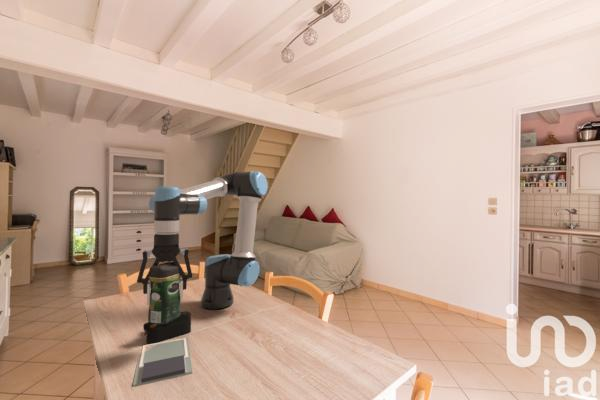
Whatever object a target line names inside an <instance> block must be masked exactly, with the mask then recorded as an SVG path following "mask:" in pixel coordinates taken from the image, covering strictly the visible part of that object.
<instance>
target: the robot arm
mask: <svg viewBox="0 0 600 400" xmlns="http://www.w3.org/2000/svg"><path fill="white" fill-rule="evenodd" d="M268 186H269V185H268V181H267V178H266V176H265V175H264V173H262V172H261V171H254V170H251V171H234V172H230V173H227V174H224V175H221V176H217V177H214V178H213V179H212V180H210V181H206V182H204V183H200V184H196V185H192V186H188V187H184V188H182V189H180V188H179V186H178V187H176V186H158V187H156V188H155V191H154V194H153V195H152V196H151V197H150V198H149V202H148V205H149V209H150V210H151V212H153V213H154V217H153V218H154V220H153V221H154V222H153V232H154V233H155V234H154V235H153V248H152V249H151V250H143V251H142V262H141V265H140V268H139V272H138V275H137V279H136V282H137V283H138V284H139V283H140V284H142V285H143V289H142V290H143V291H142V292H143V295H146V305H147V306H148V305H150V293H151V283H150V280H149V273H150V271H149V270H148V272H147V274H146V276H145V277H144V274H145V273H144V272H145V270H146V265H147V263H148V260H149V259H148V258H150V257H151V255H153V257H155V260H154V262H153V263H152V265H151V266H155V265H159V263H166V262H173V263H174V264H175V266H177V267H179V273H180V275H181V276H180V282H179V290H180V302H182V301H183V300H184V298H183V296H184V291H185V290H187V283H188V280H189V279H192V278H193V272H192V267H191V264H190V259H189V249H188V247H186V248H180V245H179V244H180V234H179V232H180V216H181V215H188V216H189V215H201V214H204V213H205V212H206V211H207V208H208V200H209V199H212V198H215V197H221V198H222V197H225V196H236V197H237V200H238V201H239V209H238V216H237V218H238V219H237V225H236V226H237V227H236V233H235V234H236V235H235V244H234V251H233V253H231V254H228V253H226V254H216V255H210V256H209V257H207V258H206V259H205V266H204V267H205V268H204V269H205V270H204V277H205V278H204V280H205V281H204V290H203V294H202V296H201V299H200V305H201V306H202V307H201V308H204V309H210V310H211V309H212V310H217V309H223V308H226V307H229V306H231V305H233V304H234V300H235V299H234V294H233V291H232V289H231V288H232V287H231V285H234V286H239V287H251V286H253V284H254V283H255V282H256V281H257V279H258V277H259V275H260V264H259V262H258V261H257V260H256V255H255V254H254V243H255V236H256V235H255V234H256V226H257V215H258V208H259V207H258V206H259V203H261V201H262V199H263V197H264V196H265V195H266V194H267V193H268ZM179 254H181V255H182V256H183V258H184V263H185V268H186V271H187V274H186V273H185V272H184V270H183V267H182V266H181V264H180V263H179V261H178V258H177V257H178V255H179Z"/></svg>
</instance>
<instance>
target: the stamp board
mask: <svg viewBox="0 0 600 400" xmlns="http://www.w3.org/2000/svg"><path fill="white" fill-rule="evenodd" d="M189 343H190V342H189V338H188V337H183V338H178V339H177V338H176V339H172V340H171V339H169V340H165V341H162V342H158V343H154V344H145V345H142V349H141V354H139V355H138V356H137V357H138V358H137V362H136V368H135V373H134V378H133V382H132V387H136V386H137V387H138V386H141V385H146V384H150V383H155V382H160V381H164V380H168V379H173V378H178V377H182V376H187V375H191V374H193V365H192V360H191V359H192V357H191V351H190V344H189ZM151 346H152V347H151ZM146 347H150V348H149V349H147V350H146ZM182 355H184V358H185V361H186V371H187V373H184V374H179V375H175V376H171V377H166V378H162V379H158V380H153V381H149V382H145V383H140V378H141V372H142V367H143V366H144V363H148V362H153V361H158V360H162V359H167V358H172V357H177V356H182Z"/></svg>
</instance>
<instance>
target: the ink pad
mask: <svg viewBox="0 0 600 400" xmlns="http://www.w3.org/2000/svg"><path fill="white" fill-rule="evenodd" d="M184 373H187V371H186V361H185V358H184V355H182V356H177V357H172V358H167V359H162V360H158V361H153V362H148V363H144V366H143V367H142V372H141V378H140V383H145V382H149V381H153V380H158V379H162V378H166V377H171V376H175V375H179V374H184Z"/></svg>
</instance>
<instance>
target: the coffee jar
mask: <svg viewBox="0 0 600 400" xmlns="http://www.w3.org/2000/svg"><path fill="white" fill-rule="evenodd" d="M149 271H150V273H149V282H150V283H151V286H150V305H149V306H148V316H147V321H149V322H150V323H152V324H156V325H157V324H166V323H168V322H170V321H172V320H174V319H176V318H178V317H179V316H180V315H181V311H182V306H181V301H180V279H181V275H180V273H179V267H177V266H175V264H174V263H173V261H170V262H168V261H166V262H162V263H160V264H158V265H155V266H152V265H150V267H149V270H148V272H149Z"/></svg>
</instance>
